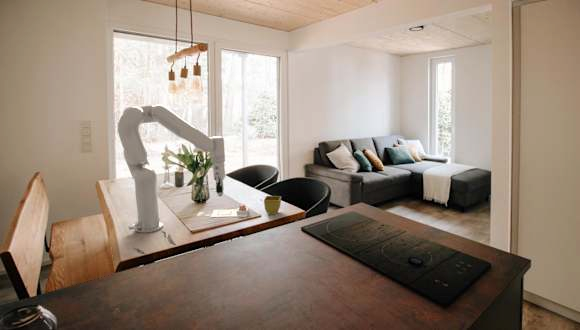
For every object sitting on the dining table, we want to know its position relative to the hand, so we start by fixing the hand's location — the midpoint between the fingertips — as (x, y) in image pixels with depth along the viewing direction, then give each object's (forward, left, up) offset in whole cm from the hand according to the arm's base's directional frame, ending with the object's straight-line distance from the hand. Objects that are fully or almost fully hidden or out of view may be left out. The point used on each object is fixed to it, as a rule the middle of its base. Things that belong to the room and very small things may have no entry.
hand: (220, 191), depth 175 cm
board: (+3, -4, -13) cm, 14 cm away
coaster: (-6, +7, -13) cm, 16 cm away
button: (+7, -10, -11) cm, 17 cm away
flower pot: (+18, -23, -14) cm, 32 cm away
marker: (0, 0, -3) cm, 3 cm away
